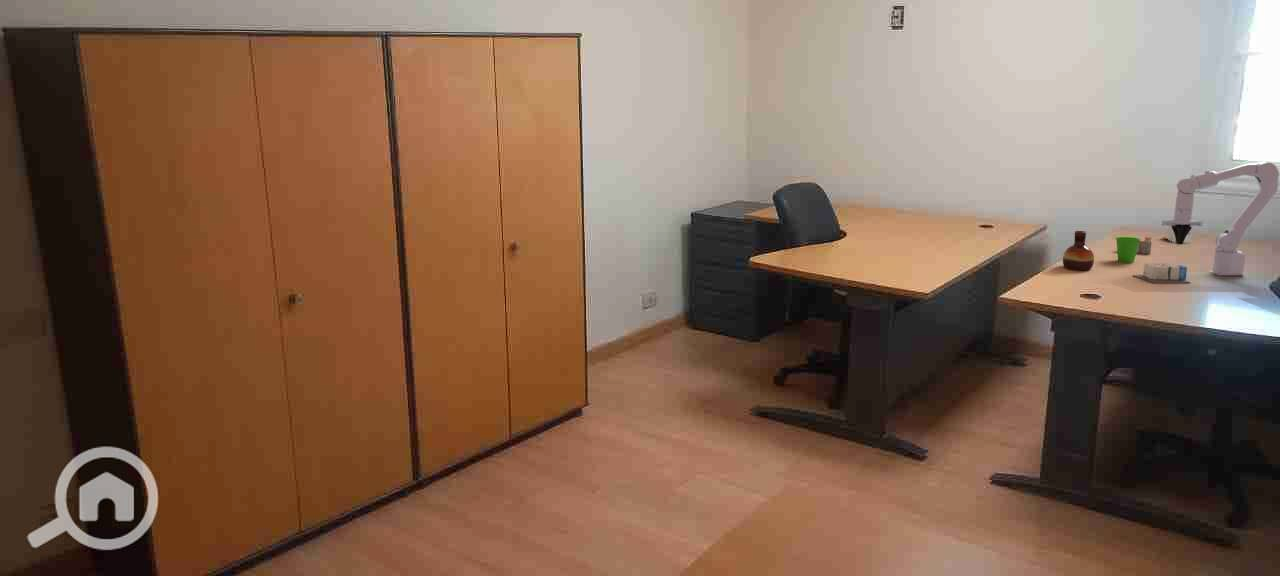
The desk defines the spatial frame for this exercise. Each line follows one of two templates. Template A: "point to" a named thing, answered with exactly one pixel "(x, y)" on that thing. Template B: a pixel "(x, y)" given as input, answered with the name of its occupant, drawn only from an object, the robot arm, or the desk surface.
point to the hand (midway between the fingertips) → (1179, 244)
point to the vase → (1078, 254)
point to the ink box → (1164, 271)
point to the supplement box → (1172, 236)
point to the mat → (1159, 280)
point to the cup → (1127, 248)
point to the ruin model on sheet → (1144, 246)
